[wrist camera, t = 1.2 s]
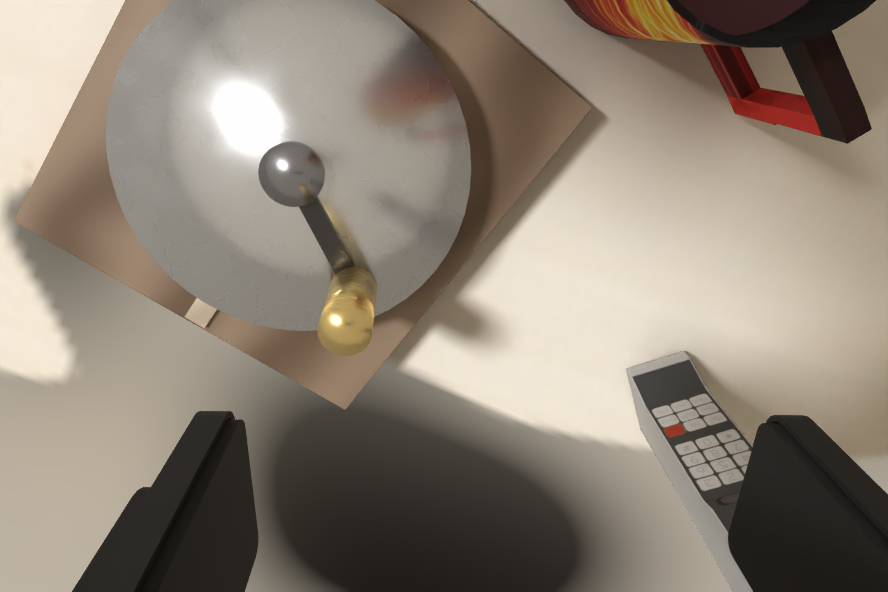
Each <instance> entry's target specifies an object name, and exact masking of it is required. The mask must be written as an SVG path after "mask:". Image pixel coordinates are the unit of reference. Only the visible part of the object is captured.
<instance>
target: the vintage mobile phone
mask: <svg viewBox="0 0 888 592" xmlns="http://www.w3.org/2000/svg"><path fill="white" fill-rule="evenodd" d="M626 371H627V375H628V379H629V383H630V388H631V392H632V396H633V400H634V404H635V408H636V413H637V417H638V421H639V425H640V429H641V431H642V433H643V434H644V436H645V438H646V440H647V441H648V443H649V445H650V447H651V448H652V450H653V452H654V454H655V456H656V457H657V459H658V461H659V463H660V464H661V466H662V468H663V469H664V471H665V473H666V475H667V477H668V478H669V480H670V482H671V484H672V486H673V487H674V489H675V491H676V493H677V494H678V496H679V498H680V500H681V501H682V503H683V505H684V507H685V508H686V510H687V512H688V514H689V515H690V517H691V519H692V521H693V523H694V524H695V526H696V528H697V530H698V531H699V533H700V535H701V537H702V539H703V540H704V542H705V544H706V546H707V547H708V549H709V551H710V553H711V554H712V556H713V558H714V560H715V561H716V563H717V565H718V567H719V568H720V570H721V572H722V574H723V576H724V577H725V579H726V581H727V583H728V584H729V586H730V588H731V590H732V591H733V592H753V591H752V589H751V587H750V586H749V584H748V582H747V580H746V579H745V577H744V575H743V574H742V572H741V570H740V569H739V567H738V565H737V564H736V562H735V560H734V559H733V557H732V555H731V553H730V550H729V545H728V533H729V529H730V526H731V522H732V519H733V515H734V512H735V508H736V504H737V501H738V497H739V494H740V490H741V487H742V483H743V479H744V476H745V472H746V469H747V465H748V462H749V458H750V454H751V451H752V447H753V445H752V444H751V443H750V441H749V440H748V439H747V438H746V436H745V435H744V434H743V433H742V431H741V430H740V429H739V428H738V426H737V425H736V424H735V423H734V422H733V420H732V419H731V418H730V417H729V415H728V414H727V413H726V412H725V410H724V409H723V408H722V407H721V405H720V404H719V403H718V402H717V401H716V399H715V398H714V397H713V396H712V394H711V393H710V392H709V391H708V389H707V388H706V386H705V384H704V382H703V380H702V379H701V377H700V375H699V373H698V371H697V370H696V368H695V366H694V364H693V362H692V360H691V359H690V358H689V356H688V355H687V354H686V353H685V352H684V351H682V352H679V353H676V354H672V355H669V356H666V357H663V358H659V359H656V360H653V361H649V362H646V363H643V364H640V365H636V366H633V367H630V368H627V369H626Z"/></svg>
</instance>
